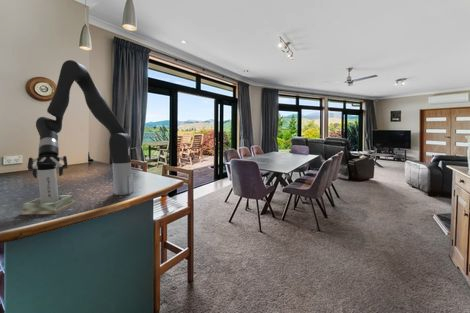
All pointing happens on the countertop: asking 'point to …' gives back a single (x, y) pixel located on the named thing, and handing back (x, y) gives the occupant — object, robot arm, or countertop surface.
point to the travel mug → (47, 182)
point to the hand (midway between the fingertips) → (48, 176)
